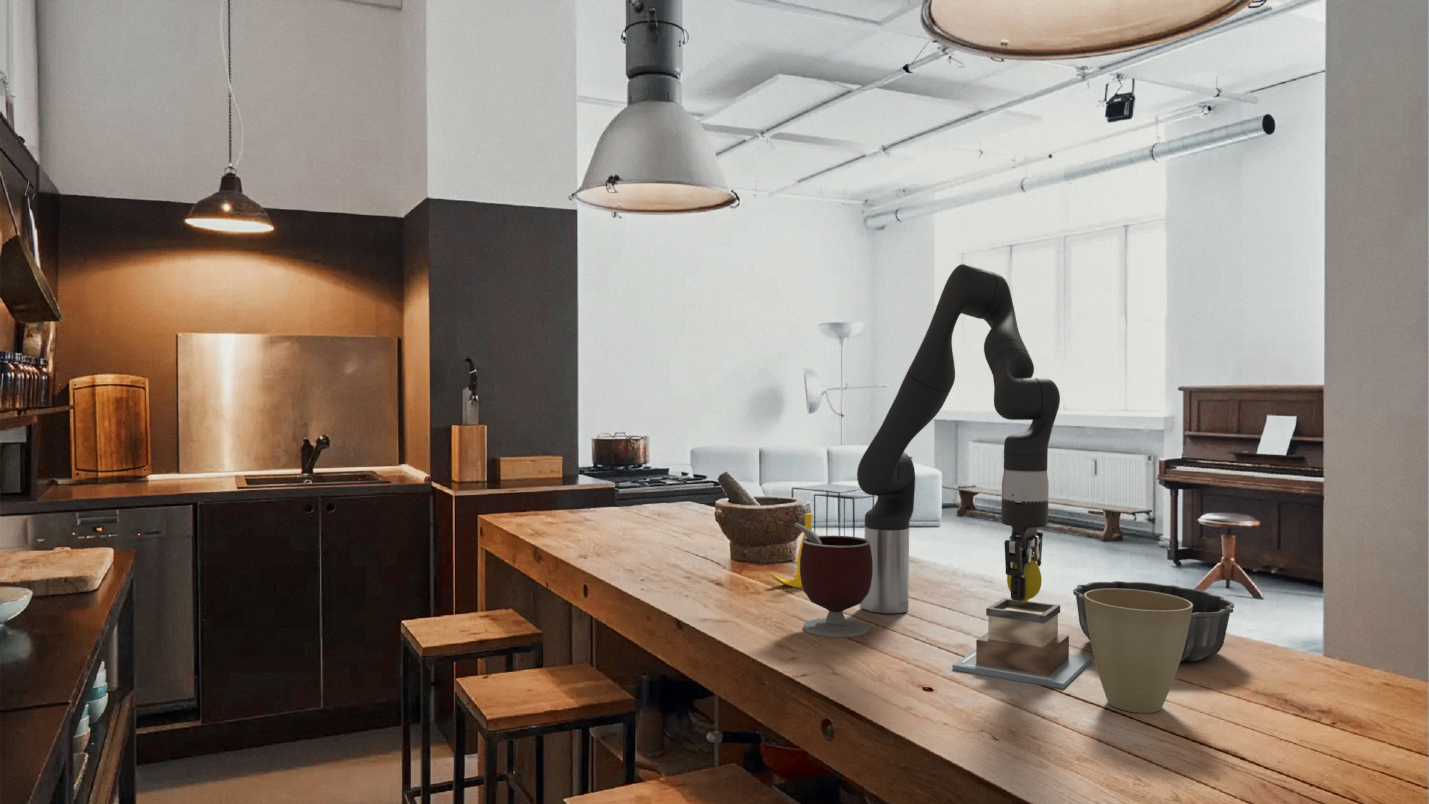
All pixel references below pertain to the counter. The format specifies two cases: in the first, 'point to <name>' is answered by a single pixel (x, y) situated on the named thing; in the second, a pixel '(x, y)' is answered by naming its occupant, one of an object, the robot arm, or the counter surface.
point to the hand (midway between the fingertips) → (1023, 596)
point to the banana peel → (797, 579)
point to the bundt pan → (1205, 617)
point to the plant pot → (1137, 644)
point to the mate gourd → (835, 580)
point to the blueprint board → (1056, 679)
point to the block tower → (1023, 637)
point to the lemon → (1030, 581)
